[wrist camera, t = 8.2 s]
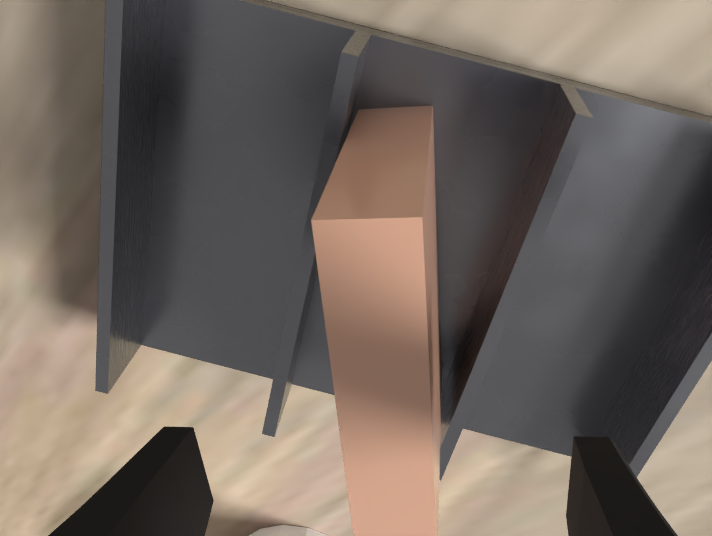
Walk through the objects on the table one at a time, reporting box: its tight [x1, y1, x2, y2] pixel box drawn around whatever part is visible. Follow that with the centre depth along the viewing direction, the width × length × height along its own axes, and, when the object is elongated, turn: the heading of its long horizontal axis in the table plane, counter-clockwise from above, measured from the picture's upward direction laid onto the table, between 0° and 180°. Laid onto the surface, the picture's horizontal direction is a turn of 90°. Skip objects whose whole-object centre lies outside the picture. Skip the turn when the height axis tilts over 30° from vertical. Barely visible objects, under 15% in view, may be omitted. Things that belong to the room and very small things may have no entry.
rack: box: [95, 0, 712, 480], centre depth 19 cm, size 17×12×3 cm
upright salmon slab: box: [311, 105, 442, 536], centre depth 17 cm, size 2×9×7 cm, turn 5°
